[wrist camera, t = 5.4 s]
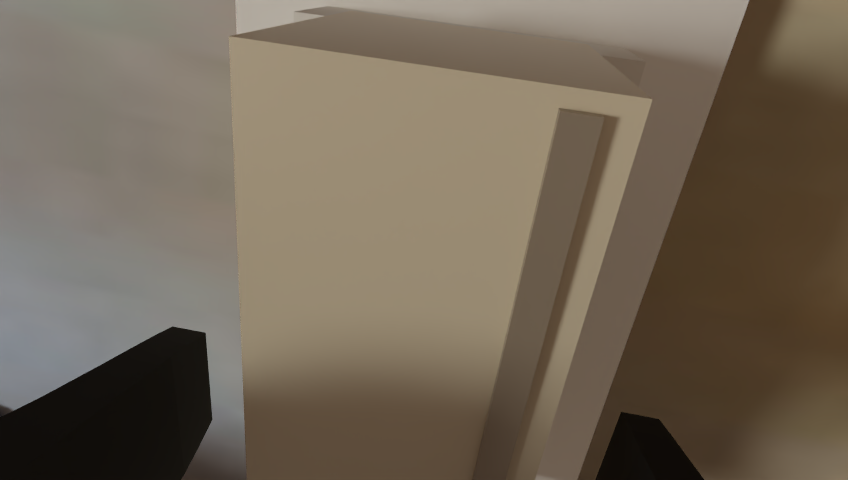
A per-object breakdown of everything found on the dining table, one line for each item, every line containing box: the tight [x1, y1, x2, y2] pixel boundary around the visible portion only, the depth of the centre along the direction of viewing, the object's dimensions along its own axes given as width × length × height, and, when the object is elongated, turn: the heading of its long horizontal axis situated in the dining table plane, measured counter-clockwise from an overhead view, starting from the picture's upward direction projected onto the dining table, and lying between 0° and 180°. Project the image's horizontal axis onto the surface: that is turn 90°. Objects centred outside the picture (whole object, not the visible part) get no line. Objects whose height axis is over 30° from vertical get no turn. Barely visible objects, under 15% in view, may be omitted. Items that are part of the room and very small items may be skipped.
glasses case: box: [229, 11, 653, 480], centre depth 10 cm, size 12×4×5 cm, turn 173°
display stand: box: [235, 0, 749, 480], centre depth 13 cm, size 15×10×3 cm, turn 173°
